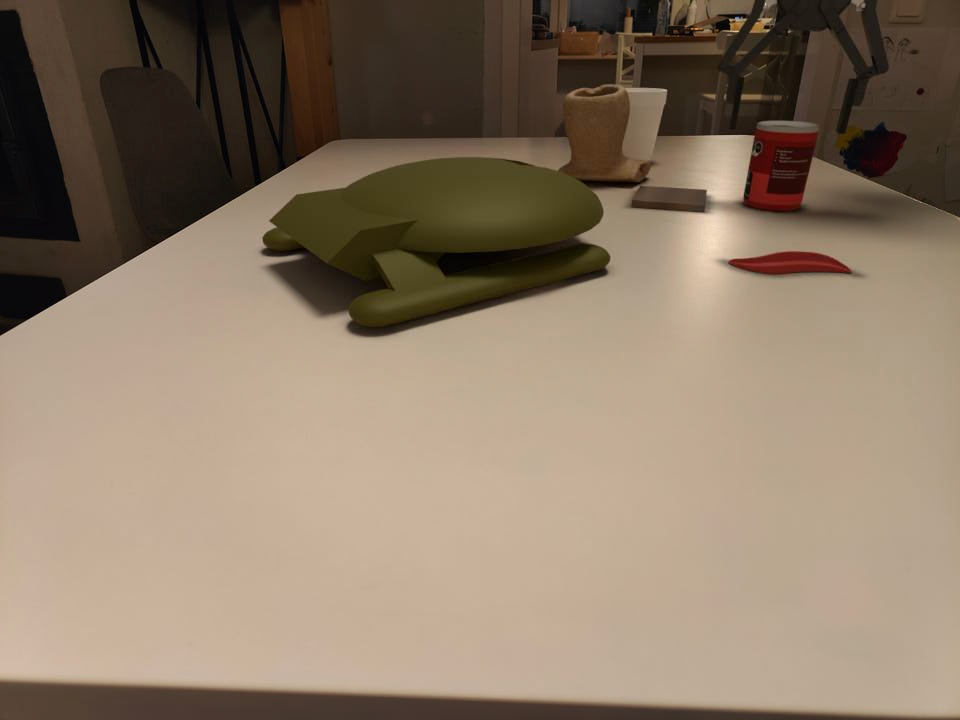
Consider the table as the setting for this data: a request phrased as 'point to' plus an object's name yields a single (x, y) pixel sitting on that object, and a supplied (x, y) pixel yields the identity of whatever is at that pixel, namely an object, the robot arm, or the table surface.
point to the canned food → (780, 164)
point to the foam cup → (643, 122)
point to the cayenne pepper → (791, 263)
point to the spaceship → (443, 232)
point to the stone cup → (600, 136)
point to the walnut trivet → (670, 198)
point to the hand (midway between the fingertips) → (784, 130)
